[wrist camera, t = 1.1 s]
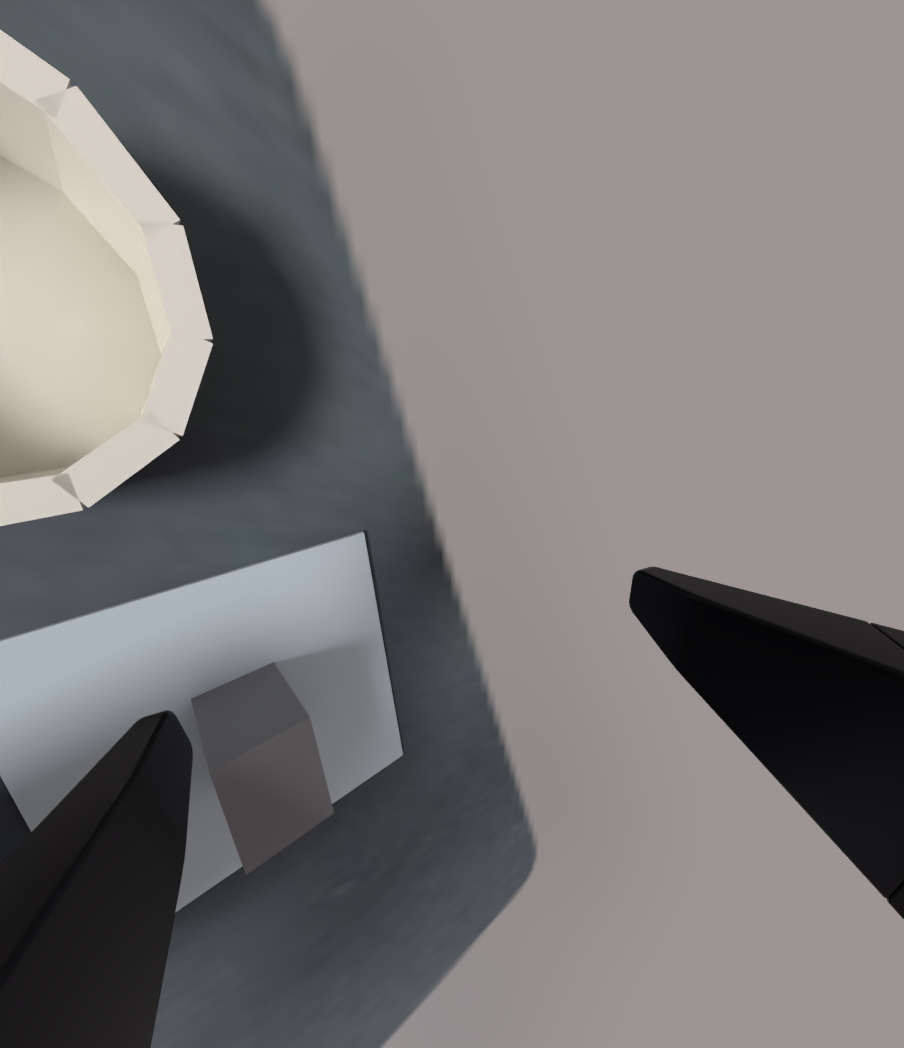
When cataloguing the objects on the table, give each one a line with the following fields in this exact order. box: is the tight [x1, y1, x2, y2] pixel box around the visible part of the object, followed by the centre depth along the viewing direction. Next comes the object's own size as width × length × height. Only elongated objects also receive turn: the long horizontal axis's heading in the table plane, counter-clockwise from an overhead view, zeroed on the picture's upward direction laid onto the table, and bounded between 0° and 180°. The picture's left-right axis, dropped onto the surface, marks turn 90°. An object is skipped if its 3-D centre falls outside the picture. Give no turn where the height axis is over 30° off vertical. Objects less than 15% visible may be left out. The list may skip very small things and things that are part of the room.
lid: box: [0, 531, 403, 913], centre depth 14 cm, size 12×12×5 cm
